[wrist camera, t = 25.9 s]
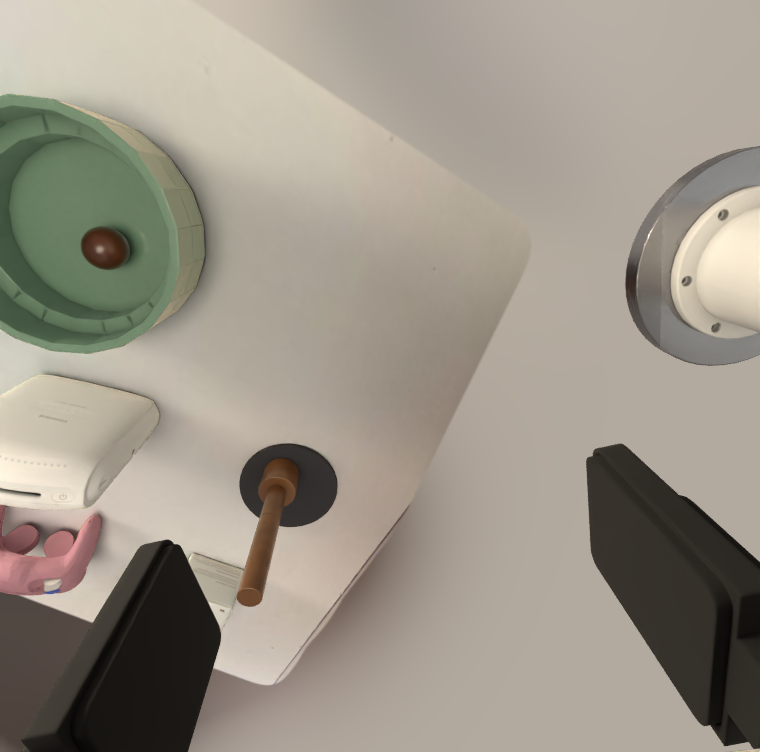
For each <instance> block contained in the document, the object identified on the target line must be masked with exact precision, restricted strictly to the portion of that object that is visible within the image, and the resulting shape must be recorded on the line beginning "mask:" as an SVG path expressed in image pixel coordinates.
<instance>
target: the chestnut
mask: <svg viewBox="0 0 760 752" xmlns="http://www.w3.org/2000/svg"><path fill="white" fill-rule="evenodd" d="M80 246H81V252H82V254H83V256H84V258H85V259H86V260H87V261H88V262H89V263H90V264H91V265H93V266H95V267H97V268H99V269H103V270H114V269H118V268H120V267H121V266H123V265H124V264H125V263H126V262H127V260H128V258H129V254H130V248H129V244H128V242H127V240H126V238H125V237H124V236H123V235H122V234H121V233H120V232H118V231H117V230H115V229H113V228H110V227H105V226H98V227H94V228H91V229H89V230H88V231H87V232H86V233H85V234H84V235H83V237H82V239H81V244H80Z"/></svg>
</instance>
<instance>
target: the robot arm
mask: <svg viewBox="0 0 760 752" xmlns="http://www.w3.org/2000/svg"><path fill="white" fill-rule="evenodd" d="M671 293H672V299H673V302H674V304H675V307H676V310H677V311H678V313H679V314H680V316H681V317H682V319H683V320H684V321H685V322H686V323H687V324H689V325H690V326H691V327H692V328H694V329H696V330H698V331H700V332H702V333H704V334H707V335H709V336H713V337H718V338H724V339H731V338H742V337H746V336H751V335H754V334H757V333H760V186H754V187H750V188H746V189H742V190H740V191H737V192H735V193H733V194H730V195H728V196H726V197H725V198H723V199H722V200H720V201H719V202H717V203H715V204H714V205H713V206H712V207H710V208H709V209H708V210H707V211H706V212H705V213H703V214H702V215H701V216H700V217H699V219H698V220H697V221H696V222H695V223H694V224H693V226H692V227H691V228H690V229H689V231H688V233H687V234H686V236H685V237H684V239H683V241H682V242H681V244H680V247H679V249H678V251H677V254H676V256H675V259H674V263H673V267H672V271H671ZM586 465H587V466H586V467H587V486H588V503H589V504H588V505H589V524H590V543H591V553H592V557H593V560H594V562H595V564H596V566H597V568H598V569H599V571H600V572H601V574H602V575H603V577H604V579H605V580H606V582H607V583H608V585H609V586H610V588H611V589H612V591H613V592H614V594H615V596H616V597H617V599H618V600H619V602H620V603H621V605H622V606H623V608H624V609H625V611H626V612H627V614H628V615H629V617H630V618H631V620H632V621H633V623H634V625H635V626H636V627H637V629H638V631H639V632H640V634H641V635H642V637H643V638H644V640H645V641H646V643H647V645H648V646H649V647H650V649H651V651H652V652H653V654H654V655H655V657H656V658H657V660H658V661H659V663H660V664H661V666H662V667H663V669H664V671H665V672H666V674H667V675H668V677H669V678H670V680H671V681H672V683H673V684H674V686H675V687H676V689H677V691H678V692H679V693H680V695H681V697H682V698H683V700H684V701H685V703H686V704H687V706H688V707H689V709H690V710H691V712H692V713H693V715H694V716H695V718H696V719H697V720H698V722H699V723H700V724H702V725H703V726H708V725H711V727H712V728H713V730H714V731H715V733H716V734H717V736H718V737H719V739H720V740H721V741H722V743H723V744H724V746H729V745H734V744H740V743H745V742H749V743H750V744H751V746H752V747H753V749H751V750H741V751H732V752H760V562H759V561H758V560H757V559H756V558H754V556H752V555H751V554H750V553H749V552H748V551H747V550H746V549H745V548H743V547H742V546H741V545H740V544H739V543H738V542H737V541H736V540H735V539H734V538H732V537H731V536H730V535H729V534H728V533H727V532H726V531H725V530H724V529H723V528H721V527H720V526H719V525H718V524H717V523H716V522H715V521H714V520H713V519H711V518H710V517H709V516H708V515H707V514H706V513H705V512H704V511H703V510H701V509H700V508H699V507H698V506H697V505H696V504H695V503H694V502H692V501H691V500H690V499H688V498H687V497H684V496H681V495H678V494H677V493H676V492H675V491H674V490H673V489H672V488H671V487H670V486H669V485H667V484H666V483H665V482H664V481H663V480H662V479H661V478H660V477H659V476H658V475H657V474H656V473H654V472H653V471H652V470H651V469H650V468H649V467H648V466H647V465H646V464H645V463H644V462H643V461H641V460H640V459H639V458H638V457H637V456H636V455H635V454H634V453H633V452H632V451H631V450H629V449H628V448H627V447H626V446H625V445H623V444H617V445H611V446H607V447H602V448H597V449H595V450H594V452H593V456H592V457H588V458H587V461H586ZM220 642H221V630H220V626H219V624H218V622H217V620H216V618H215V616H214V614H213V611H212V609H211V607H210V605H209V603H208V601H207V599H206V597H205V595H204V593H203V591H202V589H201V587H200V585H199V583H198V581H197V578H196V576H195V574H194V572H193V570H192V568H191V566H190V564H189V562H188V560H187V558H186V556H185V554H184V552H183V550H182V548H181V546H180V545H178V544H175V545H174V544H173V542H172V541H170V540H163V541H158V542H153V543H149V544H144V545H142V546H140V548H139V549H138V550H137V552H136V553H135V555H134V557H133V558H132V560H131V562H130V563H129V565H128V566H127V568H126V570H125V571H124V573H123V575H122V576H121V578H120V579H119V581H118V583H117V584H116V586H115V588H114V589H113V591H112V592H111V594H110V596H109V597H108V599H107V601H106V602H105V604H104V605H103V607H102V609H101V610H100V612H99V614H98V615H97V617H96V619H95V620H94V622H93V623H92V625H91V627H90V628H89V630H88V632H87V633H86V635H85V636H84V638H83V640H82V641H81V643H80V645H79V646H78V648H77V650H76V651H75V653H74V655H73V656H72V658H71V659H70V661H69V663H68V664H67V666H66V667H65V669H64V671H63V673H62V674H61V676H60V677H59V679H58V681H57V682H56V684H55V685H54V687H53V689H52V690H51V692H50V694H49V695H48V697H47V699H46V700H45V702H44V703H43V705H42V707H41V708H40V710H39V711H38V713H37V715H36V716H35V718H34V719H33V721H32V723H31V724H30V726H29V728H28V729H27V731H26V732H25V734H24V736H23V737H22V739H21V741H22V742H23V744H24V745H25V747H24V748H23V750H22V752H188V749H189V746H190V743H191V739H192V736H193V733H194V729H195V726H196V722H197V719H198V716H199V713H200V709H201V706H202V703H203V699H204V696H205V693H206V689H207V686H208V683H209V679H210V676H211V673H212V669H213V666H214V663H215V659H216V656H217V653H218V649H219V646H220Z"/></svg>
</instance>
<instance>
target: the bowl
mask: <svg viewBox="0 0 760 752" xmlns="http://www.w3.org/2000/svg"><path fill="white" fill-rule="evenodd" d="M98 226H105V227H110V228H113V229H115V230H117V231H118V232H120V233H121V234H122V235H123V236H124V237H125V238H126V240H127V242H128V244H129V248H130V254H129V258H128V260H127V262H126V263H125V264H124V265H123V266H121V267H120V268H118V269H114V270H103V269H99V268H97V267H95V266H93V265H91V264H90V263H89V262H88V261H87V260H86V259H85V258H84V256H83V254H82V252H81V246H80V244H81V239H82V237H83V235H84V234H85V233H86V232H87V231H88V230H89V229H91V228H94V227H98ZM204 257H205V249H204V225H203V221H202V218H201V215H200V212H199V209H198V206H197V204H196V201H195V198H194V195H193V192H192V190H191V188H190V186H189V185H188V183H187V182H186V181H185V179H184V178H183V176H182V175H181V173H180V172H179V170H178V169H177V167H176V166H175V165H174V163H173V162H172V160H171V159H170V158H169V156H167V155H166V154H165V153H164V152H163V151H161V150H160V149H159V148H158V147H157V146H156V145H154V144H153V143H152V142H151V141H150V140H149V139H147V138H146V137H145V136H144V135H143V134H141V133H140V132H138V131H137V130H135V129H133V128H130V127H128V126H126V125H124V124H122V123H119V122H117V121H115V120H113V119H111V118H108V117H106V116H104V115H101V114H98V113H95V112H92V111H89V110H86V109H82V108H79V107H76V106H73V105H70V104H67V103H64V102H61V101H58V100H55V99H49V98H40V97H32V96H24V95H15V94H6V95H2V96H0V329H1V330H3V331H4V332H6V333H7V334H9V335H10V336H12V337H14V338H16V339H19V340H22V341H24V342H27V343H30V344H33V345H36V346H39V347H42V348H44V349H47V350H50V351H58V352H71V353H85V354H91V353H95V352H99V351H104V350H108V349H113V348H117V347H122V346H124V345H125V344H127V343H129V342H130V341H132V340H133V339H135V338H137V337H138V336H140V335H141V334H143V333H144V332H146V331H148V330H149V329H151V328H152V327H154V326H155V325H157V324H159V323H160V322H162V321H163V320H165V319H166V318H168V317H169V316H171V315H172V314H174V313H175V312H177V311H178V310H179V309H180V308H181V307H182V305H183V304H184V303H185V301H186V300H187V299H188V297H189V296H190V295H191V293H192V292H193V291H194V289H195V288H196V286H197V282H198V279H199V276H200V272H201V269H202V266H203V262H204Z"/></svg>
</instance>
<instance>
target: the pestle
mask: <svg viewBox="0 0 760 752" xmlns="http://www.w3.org/2000/svg"><path fill="white" fill-rule="evenodd" d="M299 476H300V472H299V469H298V467H297V465H296V464H295V463H294V462H292V461H291V460H288V459H285V458H278V459H274V460H272V461H271V462H269V463H268V464H267V465H266V467H265V470H264V473H263V476H262V479H261V482H260V485H259V489H258V494H259V497H260V499H261V500H262V501H263V502H264V505H263V508H262V512H261V515H260V518H259V522H258V525H257V528H256V532H255V535H254V539H253V542H252V545H251V549H250V552H249V555H248V559H247V562H246V566H245V569H244V572H243V576H242V579H241V582H240V586H239V589H238V593H237V600H238V602H239V603H240V604H242V605H244V606H248V607H252V606H256V605H258V604H259V603H260V602H261V601H262V597H263V593H264V589H265V584H266V580H267V576H268V571H269V567H270V563H271V558H272V554H273V550H274V545H275V541H276V537H277V532H278V528H279V524H280V519H281V515H282V511H283V507H284V506H287V505H289V504H290V503H291V502H292V501H293V500H294V498H295V496H296V491H297V486H298V481H299Z"/></svg>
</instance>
